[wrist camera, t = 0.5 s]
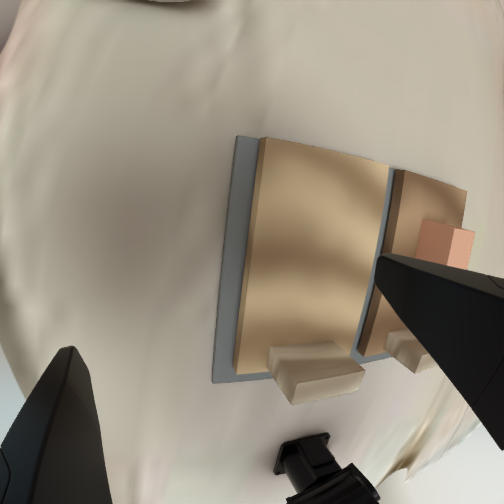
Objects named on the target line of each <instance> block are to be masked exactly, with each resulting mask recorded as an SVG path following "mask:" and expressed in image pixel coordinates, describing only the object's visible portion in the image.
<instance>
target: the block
mask: <svg viewBox="0 0 504 504" xmlns="http://www.w3.org/2000/svg"><path fill="white" fill-rule="evenodd" d="M474 235H475V232H473V231H470V230H466V229H463V228H459V227H456V226H452V225H449V224H445V223H440V222H434V221H429V220H422V225H421V231H420V236H419V241H418V246H417V251H416V255H415V258H416V259H421V260H425V261H430V262H434V263H439V264H443V265H447V266H452V267H456V268H460V269H465V270H467V267H468V263H469V259H470V254H471V250H472V245H473V240H474Z"/></svg>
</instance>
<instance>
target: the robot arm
mask: <svg viewBox="0 0 504 504" xmlns="http://www.w3.org/2000/svg"><path fill="white" fill-rule="evenodd" d="M374 282H375V285H376V286H377V288H378V289H379V290H380V292H381V293H382V295H383V296H384V297H385V299H386V300H387V302H388V303H389V304H390V306H391V307H392V309H393V310H394V311H395V313H396V314H397V316H398V317H399V318H400V320H401V321H402V322H403V323H404V325H405V326H406V327H407V328H408V329H409V330H410V332H411V333H412V334H413V335H414V336H415V338H416V339H417V340H418V341H419V342H420V344H421V345H422V346H423V347H424V348H425V350H426V351H427V352H428V353H429V355H430V356H431V357H432V358H433V359H434V361H435V362H436V363H437V364H438V366H439V367H440V368H441V369H442V371H443V372H444V373H445V374H446V376H447V377H448V378H449V380H450V381H451V382H452V383H453V385H454V386H455V387H456V389H457V390H458V391H459V393H460V394H461V395H462V396H463V398H464V399H465V400H466V402H467V403H468V404H469V406H470V407H471V408H472V410H473V412H474V413H475V414H476V416H477V417H478V418H479V420H480V421H481V422H482V424H483V425H484V427H485V428H486V429H487V431H488V432H489V434H490V435H491V437H492V438H493V439H494V441H495V442H496V444H497V445H498V447H499V448H500V449H501V450H504V279H503V278H498V277H494V276H490V275H485V274H481V273H477V272H473V271H469V270H465V269H460V268H456V267H452V266H447V265H443V264H439V263H434V262H430V261H425V260H421V259H416V258H412V257H407V256H403V255H398V254H393V253H386V254H383V255H380V256H379V257H378V258H377V261H376V268H375V274H374ZM329 439H330V435H329V433H325V434H321V435H317V436H313V437H309V438H305V439H301V440H297V441H292V442H288V443H284V444H283V445H282V446H281V449H280V453H279V456H278V459H277V462H276V466H275V469H274V474H275V475H279V474H284V473H286V474H287V476H288V478H289V480H290V481H291V483H292V485H293V487H294V488H295V490H296V492H297V493H298V494H296V495H294V496H292V497H288V498H286V501H287V503H286V504H379V503H378V502H377V501H379V500H380V496H379V494H378V493H377V491H376V489H375V488H374V487H373V485H372V484H371V483H370V482H369V480H368V479H367V478H366V477H365V476H364V475H363V474H362V473H361V472H360V471H359V470H358V469H357V468H356V467H355V465H354V464H353V463H350V464H349V465H348V466H347V467H345V468H343V469H342V468H341V467H340V466H339V464H338V463H337V462H336V460H335V457H334V456H333V455H332V453H331V452H330V451H329V449H328V448H327V443H328V441H329ZM0 504H113V503H112V498H111V494H110V489H109V484H108V478H107V473H106V467H105V460H104V454H103V447H102V439H101V431H100V425H99V420H98V415H97V410H96V405H95V400H94V395H93V390H92V384H91V378H90V373H89V370H88V368H87V366H86V364H85V362H84V361H83V359H82V357H81V355H80V354H79V352H78V350H77V349H76V347H74V346H68V347H64V348H61V349H59V351H58V352H57V353H56V355H55V356H54V358H53V359H52V361H51V362H50V364H49V365H48V367H47V368H46V370H45V372H44V373H43V375H42V376H41V378H40V379H39V381H38V382H37V384H36V386H35V387H34V389H33V390H32V392H31V394H30V395H29V397H28V398H27V400H26V402H25V403H24V405H23V407H22V409H21V410H20V412H19V414H18V415H17V417H16V419H15V421H14V422H13V424H12V426H11V428H10V429H9V431H8V433H7V435H6V437H5V438H4V440H3V442H2V444H1V448H0Z"/></svg>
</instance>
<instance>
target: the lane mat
mask: <svg viewBox="0 0 504 504" xmlns="http://www.w3.org/2000/svg"><path fill="white" fill-rule="evenodd" d="M259 146H260V139H257V138H250V137H244V136H237V137H236V145H235V152H234V161H233V169H232V177H231V185H230V194H229V202H228V211H227V220H226V229H225V239H224V248H223V258H222V268H221V278H220V288H219V299H218V309H217V321H216V332H215V344H214V356H213V369H212V383H213V384H216V383H230V382H241V381H252V380H261V379H270V378H273V377H272V375H271V373H270V372H260V373H249V374H238V375H237V374H236V372H235V370H234V368H233V359H234V350H235V342H236V333H237V325H238V317H239V308H240V300H241V292H242V283H243V275H244V267H245V258H246V250H247V242H248V234H249V226H250V218H251V210H252V201H253V193H254V185H255V177H256V169H257V161H258V154H259ZM395 172H396V170H395V169H391V168H389V171H388V179H387V187H386V194H385V200H384V207H383V213H382V219H381V225H380V230H379V236H378V241H377V246H376V251H375V256H374V261H373V266H372V271H371V275H370V280H369V284H368V288H367V292H366V297H365V301H364V305H363V309H362V313H361V316H360V320H359V324H358V328H357V331H356V335H355V338H354V342H353V345H352V349H351V352H350V357H351V358H352V359H354V360H355V361H356V362H357V363H358V364H362V363H367V362H372V361H376V360H381V359H385V358H389V357H393V356H391V355H390V354H389V353H387V352H386V353H381V354H377V355H372V356H367V357H363V356H362V355H361V354H360V353H359V352H358V351H357V350H358V347H359V344H360V340H361V337H362V333H363V330H364V326H365V323H366V319H367V315H368V312H369V308H370V304H371V300H372V296H373V292H374V288H375V282H374V274H375V268H376V261H377V258H378V257H379V256H380V255H382V251H383V246H384V241H385V236H386V231H387V225H388V219H389V213H390V207H391V201H392V194H393V187H394V180H395Z"/></svg>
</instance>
